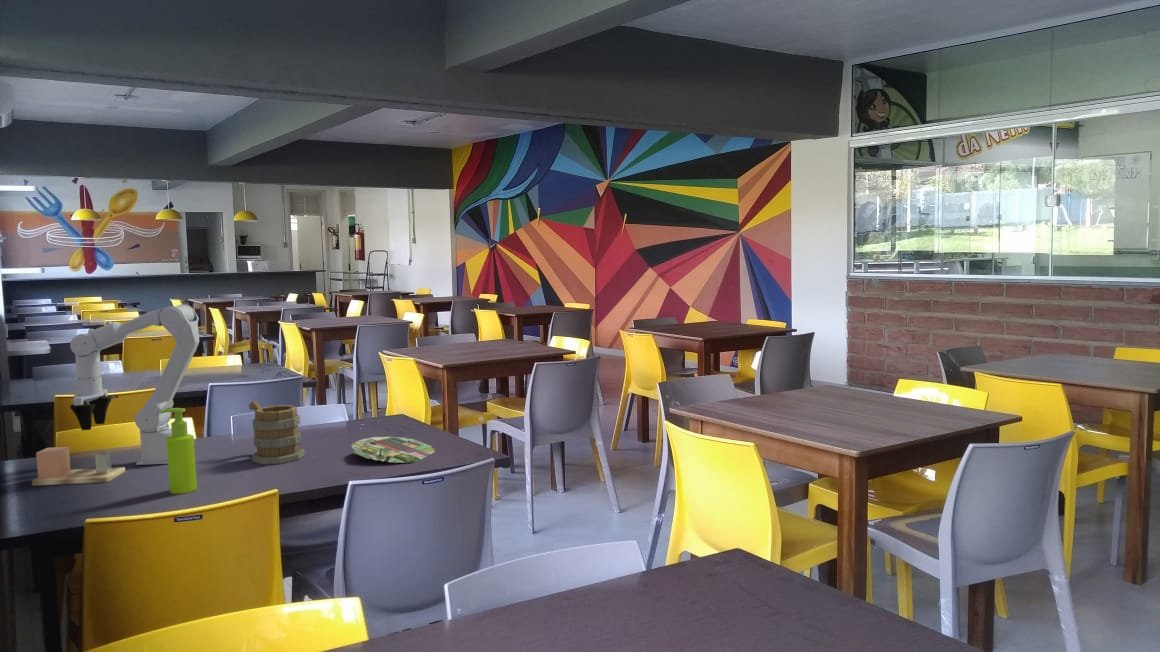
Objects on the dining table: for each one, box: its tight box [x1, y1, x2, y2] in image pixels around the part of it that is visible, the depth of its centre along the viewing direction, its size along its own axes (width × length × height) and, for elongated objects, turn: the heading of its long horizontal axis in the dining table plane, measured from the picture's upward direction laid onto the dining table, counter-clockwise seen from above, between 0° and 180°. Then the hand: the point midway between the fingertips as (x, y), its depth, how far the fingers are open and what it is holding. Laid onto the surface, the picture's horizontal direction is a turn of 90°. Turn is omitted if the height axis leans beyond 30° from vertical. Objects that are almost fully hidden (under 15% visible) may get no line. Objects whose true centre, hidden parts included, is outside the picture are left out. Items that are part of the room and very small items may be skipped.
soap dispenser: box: [160, 407, 198, 495], centre depth 199 cm, size 6×7×20 cm
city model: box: [350, 436, 436, 465], centre depth 230 cm, size 25×23×6 cm
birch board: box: [31, 466, 126, 487], centre depth 213 cm, size 18×10×1 cm, turn 95°
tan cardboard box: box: [35, 446, 72, 478], centre depth 213 cm, size 5×5×7 cm
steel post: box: [94, 451, 113, 474], centre depth 214 cm, size 3×3×5 cm
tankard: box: [248, 400, 306, 465], centre depth 232 cm, size 20×13×15 cm, turn 47°
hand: (93, 426), depth 227 cm, fingers open, 7 cm apart
